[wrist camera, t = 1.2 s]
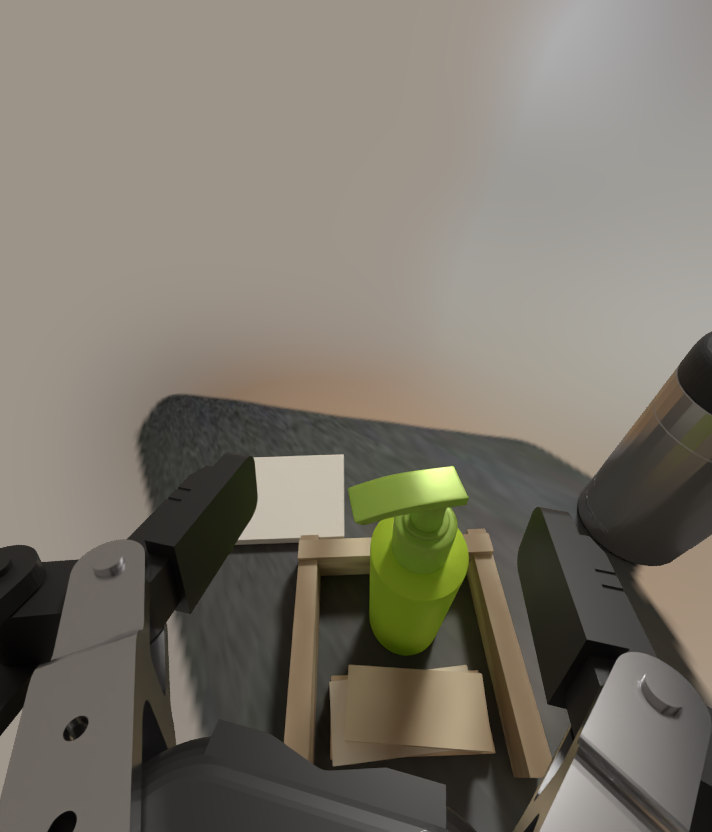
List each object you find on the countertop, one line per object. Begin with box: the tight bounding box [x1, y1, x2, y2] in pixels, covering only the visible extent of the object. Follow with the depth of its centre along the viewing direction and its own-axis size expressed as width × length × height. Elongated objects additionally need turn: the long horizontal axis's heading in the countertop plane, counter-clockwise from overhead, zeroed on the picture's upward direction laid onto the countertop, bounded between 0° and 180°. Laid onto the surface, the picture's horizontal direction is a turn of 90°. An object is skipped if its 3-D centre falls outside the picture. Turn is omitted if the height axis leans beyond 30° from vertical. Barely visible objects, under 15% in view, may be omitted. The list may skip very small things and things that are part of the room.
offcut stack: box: [329, 665, 496, 766], centre depth 26 cm, size 11×5×4 cm, turn 92°
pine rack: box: [284, 529, 552, 778], centre depth 29 cm, size 17×16×4 cm
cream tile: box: [235, 454, 345, 545], centre depth 40 cm, size 11×10×1 cm
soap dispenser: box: [348, 466, 469, 656], centre depth 24 cm, size 6×7×20 cm
